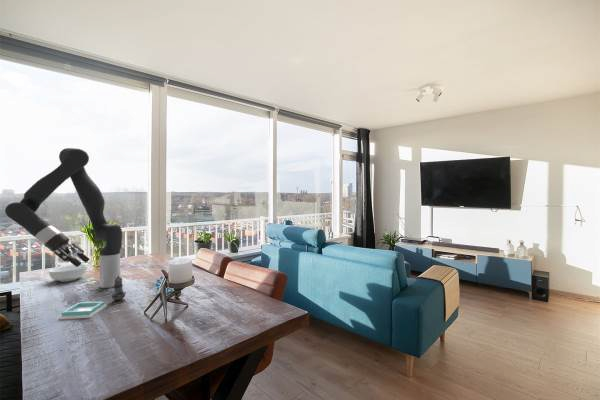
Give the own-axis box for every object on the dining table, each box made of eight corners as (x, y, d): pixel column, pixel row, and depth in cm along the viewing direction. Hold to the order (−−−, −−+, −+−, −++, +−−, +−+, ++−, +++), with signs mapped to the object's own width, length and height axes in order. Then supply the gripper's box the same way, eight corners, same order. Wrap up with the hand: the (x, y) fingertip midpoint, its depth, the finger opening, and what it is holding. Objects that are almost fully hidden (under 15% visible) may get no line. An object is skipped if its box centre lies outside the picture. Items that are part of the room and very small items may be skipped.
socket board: (78, 307, 124) (78, 302, 124) (106, 306, 125) (106, 300, 125) (59, 319, 112) (59, 313, 112) (90, 317, 114) (90, 311, 114)
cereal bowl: (81, 274, 177) (81, 262, 177) (91, 278, 167) (91, 266, 167) (45, 280, 163) (45, 268, 163) (54, 286, 153) (54, 273, 153)
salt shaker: (115, 299, 134) (115, 273, 133) (128, 298, 134) (128, 273, 134) (108, 304, 128) (107, 277, 128) (121, 303, 128) (121, 277, 128)
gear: (155, 293, 137) (156, 274, 144) (153, 299, 141) (153, 281, 147) (180, 291, 144) (179, 274, 150) (177, 297, 147) (176, 280, 153)
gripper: (50, 234, 117) (83, 260, 121) (67, 230, 131) (97, 253, 134) (35, 247, 116) (69, 273, 119) (54, 242, 129) (83, 265, 133)
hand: (83, 263), depth 127 cm, fingers open, 8 cm apart
